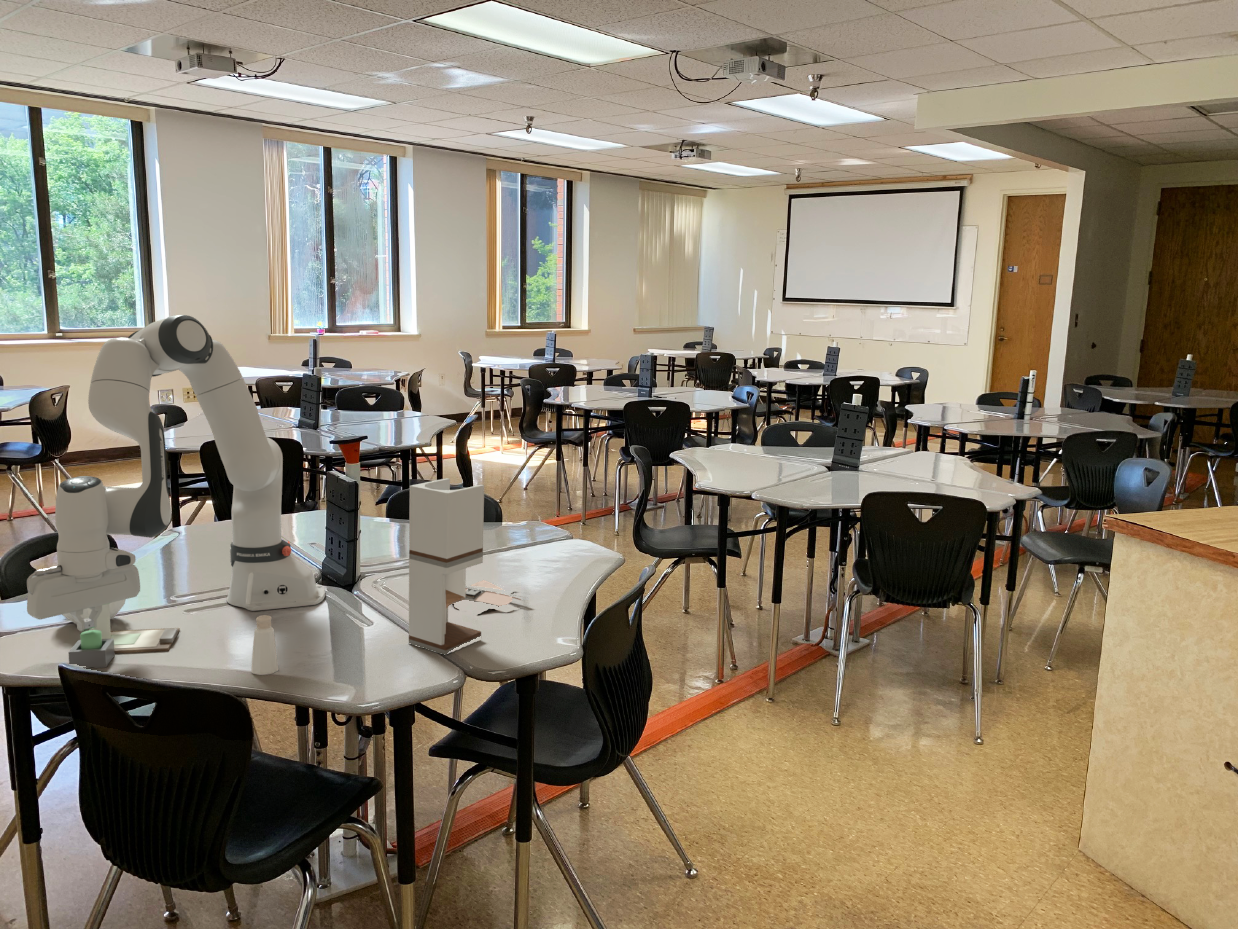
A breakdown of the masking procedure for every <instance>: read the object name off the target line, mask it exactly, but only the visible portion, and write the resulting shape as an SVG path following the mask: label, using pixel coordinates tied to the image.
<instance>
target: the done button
mask: <svg viewBox="0 0 1238 929" xmlns="http://www.w3.org/2000/svg"><path fill="white" fill-rule="evenodd" d="M79 636H80V637H79V638H80V640H81V650H85V649H101V648H102V635H101V631H100V630H89V629H88V630H84V631H81V633H80V634H79Z"/></svg>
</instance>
